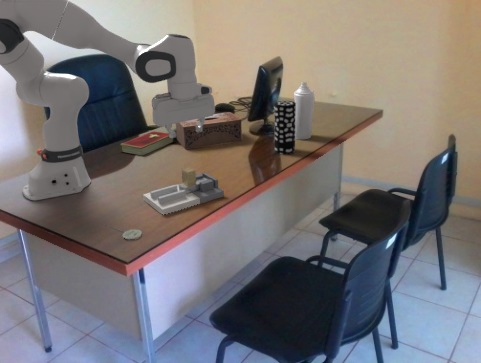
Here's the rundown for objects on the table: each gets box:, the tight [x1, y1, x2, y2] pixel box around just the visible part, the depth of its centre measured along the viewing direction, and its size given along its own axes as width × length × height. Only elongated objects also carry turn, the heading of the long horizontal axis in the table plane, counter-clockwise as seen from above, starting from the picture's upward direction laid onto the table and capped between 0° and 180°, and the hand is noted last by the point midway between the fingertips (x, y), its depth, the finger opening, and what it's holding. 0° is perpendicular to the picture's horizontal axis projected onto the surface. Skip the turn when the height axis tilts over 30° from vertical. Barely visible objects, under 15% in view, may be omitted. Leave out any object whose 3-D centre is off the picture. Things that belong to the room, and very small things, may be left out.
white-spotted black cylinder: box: [274, 100, 296, 156], centre depth 187 cm, size 8×8×20 cm
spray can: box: [293, 81, 316, 140], centre depth 203 cm, size 12×11×25 cm
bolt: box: [179, 166, 209, 193], centre depth 152 cm, size 10×4×7 cm, turn 126°
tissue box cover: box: [175, 111, 243, 150], centre depth 206 cm, size 26×14×10 cm, turn 111°
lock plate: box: [142, 172, 225, 216], centre depth 151 cm, size 22×14×5 cm, turn 126°
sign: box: [102, 223, 143, 240], centre depth 132 cm, size 5×1×15 cm
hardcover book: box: [119, 130, 174, 156], centre depth 202 cm, size 12×21×4 cm, turn 149°
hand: (186, 134), depth 145 cm, fingers open, 8 cm apart
